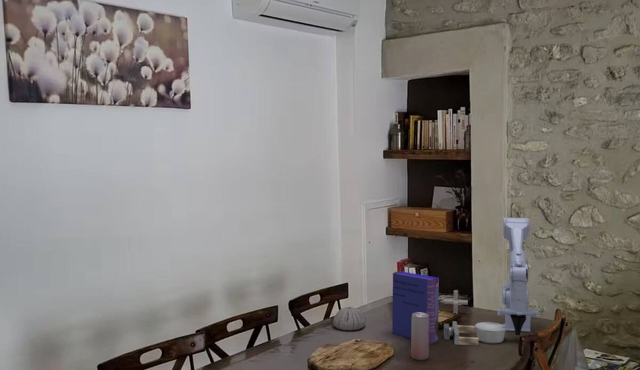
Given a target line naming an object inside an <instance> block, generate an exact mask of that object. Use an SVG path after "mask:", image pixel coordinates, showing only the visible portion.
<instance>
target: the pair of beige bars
mask: <svg viewBox="0 0 640 370" xmlns="http://www.w3.org/2000/svg"><path fill="white" fill-rule="evenodd" d="M457 326H458V331H459V334H473V335H474V334H476V328H475V325H461V324H459V325H458V324H457ZM479 341H480V340H479V338H477V337H474V336H473V337H471V336H469V337H467V336H459V345H458V346H474V347H476V346H477V347H478V346H479V345H480V343H479ZM479 347H480V346H479Z"/></svg>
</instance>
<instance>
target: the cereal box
mask: <svg viewBox="0 0 640 370" xmlns="http://www.w3.org/2000/svg"><path fill="white" fill-rule="evenodd" d="M439 282H440V278H439V277H435V276H429V275H424V274H419V273H412V272H406V271H403V270H402V271H399V270H398V271H395V272H393V273H392V318H391V319H392V325H391V327H392V329H391V331H392V332H391V333H392V335H394V336H399V337H402V338H407V339H410V340H411V317H412V314H413V313H417V312H421V313H426V314H428V315H429V345H432V344H434V343H436V342H437V343H438V341H439V297H440V296H439V291H440V290H439V289H440V287H439V285H440V284H439Z"/></svg>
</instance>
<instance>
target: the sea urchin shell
mask: <svg viewBox="0 0 640 370" xmlns="http://www.w3.org/2000/svg"><path fill="white" fill-rule="evenodd" d="M332 322H333V325H334V326H335V328H337V329H339V330H343V331H357V330H360V329H362V328H363V327H364V328H365V325H366V323H367V317H366V316H365V314H364V313H363V312H362V311H361V309H359V308H355V307H352V306H348V307H343V308H340V309H339V310H338V311H337V312H336V313H335V315H334V316H333V320H332Z"/></svg>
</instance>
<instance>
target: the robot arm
mask: <svg viewBox="0 0 640 370" xmlns="http://www.w3.org/2000/svg"><path fill="white" fill-rule="evenodd" d="M502 231H503V232H502V233H503V239H505V240H507V241H508V244H509V274H508V275H509V281H507V282H505V283H504V284H503V286H502V292H501V293H502V294H501V300H502V301H501V304H502V305H503V306H505V308H497V316H502V315H503V316H504V319H505V320H504V323H502V325H504V326H505V327H506V331H508V332H509V331H510V332H511V331H512V332H514V334H515V336H520V335H521V332H531V318H532V317H536V318H539V316H540V312H539V310H538V309H537V310H536V309H535V310H534V309H530V307H529V302H530V301H529V298H530V297H529V288H528V282H529V272H530V271H529V268H528V264H527V254H526V252H525V250H523V242H524V241H525V240H527V239H528V237H529V233H530V218H528V217H523V218H522V217H506V216H505V217H503V221H502Z"/></svg>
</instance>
